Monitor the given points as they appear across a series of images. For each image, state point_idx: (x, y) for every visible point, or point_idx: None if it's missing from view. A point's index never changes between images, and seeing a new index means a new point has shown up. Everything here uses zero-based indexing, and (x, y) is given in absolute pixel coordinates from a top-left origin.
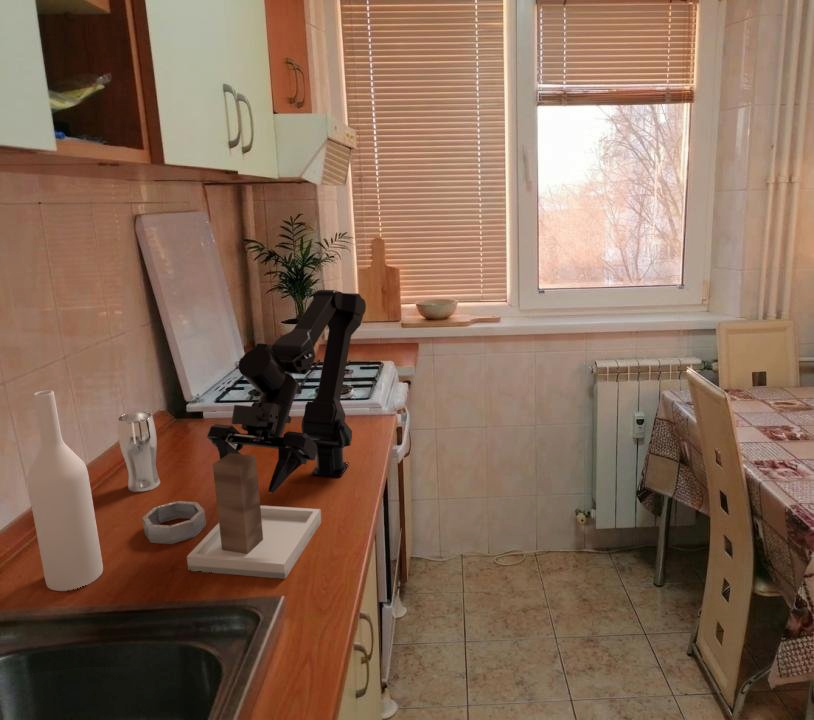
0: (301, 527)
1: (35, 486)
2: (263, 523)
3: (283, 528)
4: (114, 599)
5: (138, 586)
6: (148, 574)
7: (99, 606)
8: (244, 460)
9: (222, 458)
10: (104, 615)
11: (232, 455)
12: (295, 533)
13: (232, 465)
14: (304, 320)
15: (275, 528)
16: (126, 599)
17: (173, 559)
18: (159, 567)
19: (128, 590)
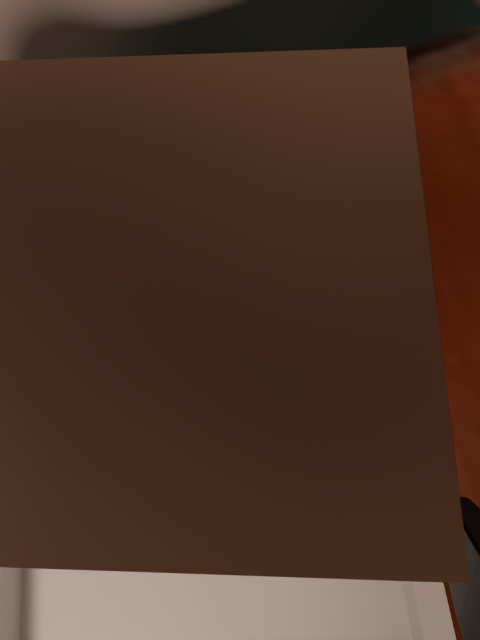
0: (52, 633)
1: None
2: (249, 626)
3: (133, 601)
4: (453, 91)
5: (440, 151)
6: (463, 205)
7: (465, 61)
8: None
9: (417, 272)
10: (420, 42)
11: (318, 455)
12: (62, 569)
13: (79, 88)
14: None
15: (170, 592)
16: (421, 100)
17: (454, 297)
18: (461, 245)
19: (451, 130)
